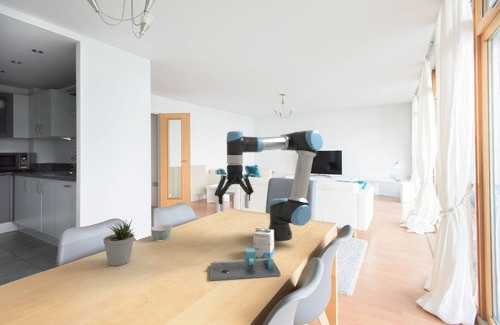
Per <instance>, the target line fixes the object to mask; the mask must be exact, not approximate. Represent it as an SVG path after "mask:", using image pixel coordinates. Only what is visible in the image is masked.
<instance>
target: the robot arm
mask: <svg viewBox="0 0 500 325" xmlns="http://www.w3.org/2000/svg"><path fill="white" fill-rule="evenodd" d="M322 137H323V136H322V135H321V133H320V132H318V130H315V129H308V130H303V131H295V132H290V133H286V134H281V135H279V136H265V137H262V136H261V137H258V136H244V134H243V132H242V131H240V130H239V131H238V130H236V131H234V130H233V131H228V132H227V134H226V164H227V165H226V175H224V174H223V175H222V174H221V175H220V180H219V182H218V185H217V187H216V189H215V192H214V196H215V197H217V198H218V205H219V211H220V212H223V213H224V212H225V196H224V195H225V194H226V192H227V191H228V190H229V188H230V187H231V186H232V185H239V186H240V187H241V189H242V190H243V192H244V208H245V209H249V208H250V201H251V195H252V194H254V192H255V191H254V189H253V186H252V184H251V182H250V180H249V179H250V178H249V174H247V173H246V174H245V173H244V174H243V172H244V170H243V169H244V168H243V165H242V164H243V163H244V156H243V155H244V153H261V152H263V151H273V150H274V151H275V150H281V151H291V152H292V151H293V152H295V153H296V154H297V159H296V166H295V171H294V178H293V184H292V188H291V195H290V196H289V197H287V198H286V197H285V198H283V197H282V198H273V199H270V202H269V226H268V228H267V229H270V230H274V241H280V242H281V241H288V240H291V239H292V238H293V232H292V229H291V226H290V224H291V225H293V226H298V227H299V226H300V227H302V226H305V225H306V224H308V222H310V219H311V216H312V210H311V207H310V206H309V201H308V200H307V197H308V192H309V190H308V189H309V184H310V179H311V178H310V177H311V172H312V165H313V162H314V161H313V160H314V158H315V157H316V156H317V154H318V151H320V150H321V149H322V147H323V145H324V144H323V143H324V141H323V138H322Z"/></svg>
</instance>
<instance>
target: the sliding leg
mask: <svg viewBox="0 0 500 325" xmlns="http://www.w3.org/2000/svg"><path fill="white" fill-rule="evenodd" d="M255 259H256V257H255V250H254V247H253V248H245V249H244V260H246V262H248V261H249V264H251V269H253V264H255Z"/></svg>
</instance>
